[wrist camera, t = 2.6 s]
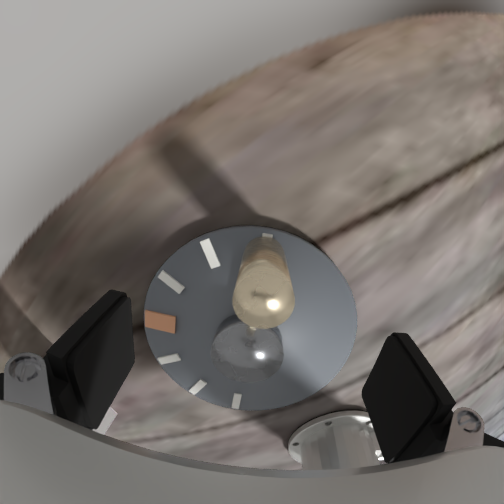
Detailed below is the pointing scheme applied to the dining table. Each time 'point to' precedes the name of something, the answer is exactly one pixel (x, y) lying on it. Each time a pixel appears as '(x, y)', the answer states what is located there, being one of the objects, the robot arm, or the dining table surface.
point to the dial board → (221, 307)
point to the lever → (256, 315)
